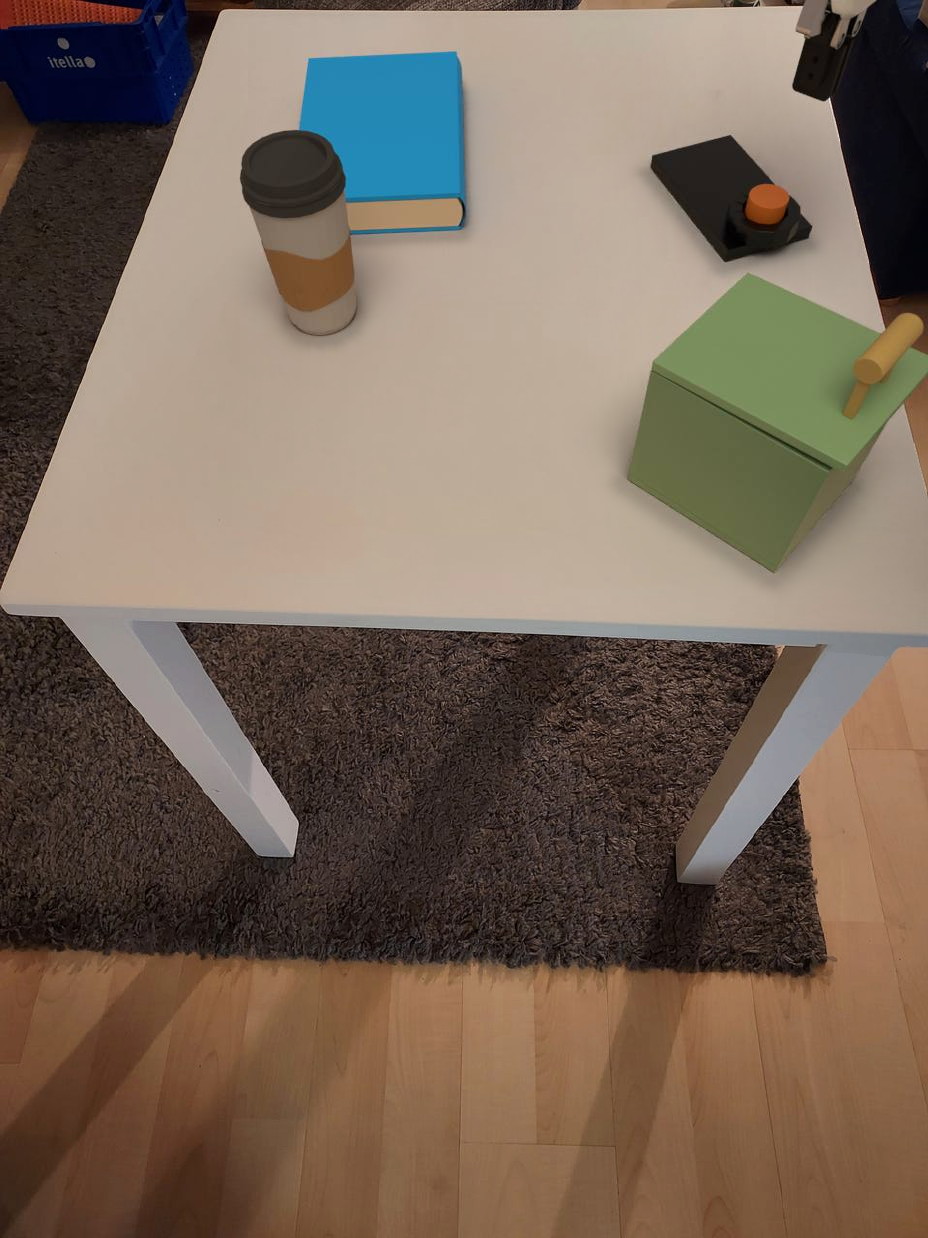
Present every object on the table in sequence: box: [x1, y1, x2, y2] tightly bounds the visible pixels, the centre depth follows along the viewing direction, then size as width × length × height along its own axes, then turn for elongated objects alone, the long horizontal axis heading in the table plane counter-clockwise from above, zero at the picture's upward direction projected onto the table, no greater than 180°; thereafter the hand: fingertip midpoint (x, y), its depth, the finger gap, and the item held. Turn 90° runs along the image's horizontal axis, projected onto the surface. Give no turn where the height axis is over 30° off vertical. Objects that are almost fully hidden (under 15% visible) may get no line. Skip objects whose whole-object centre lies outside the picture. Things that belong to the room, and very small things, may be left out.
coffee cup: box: [239, 129, 357, 336], centre depth 72 cm, size 8×8×15 cm
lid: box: [651, 272, 928, 473], centre depth 54 cm, size 14×12×6 cm
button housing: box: [649, 134, 814, 263], centre depth 82 cm, size 17×9×3 cm, turn 20°
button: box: [745, 184, 790, 224], centre depth 78 cm, size 4×4×2 cm
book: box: [298, 50, 467, 235], centre depth 88 cm, size 17×4×25 cm
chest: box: [627, 369, 888, 573], centre depth 62 cm, size 14×12×12 cm
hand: (813, 90), depth 67 cm, fingers closed
